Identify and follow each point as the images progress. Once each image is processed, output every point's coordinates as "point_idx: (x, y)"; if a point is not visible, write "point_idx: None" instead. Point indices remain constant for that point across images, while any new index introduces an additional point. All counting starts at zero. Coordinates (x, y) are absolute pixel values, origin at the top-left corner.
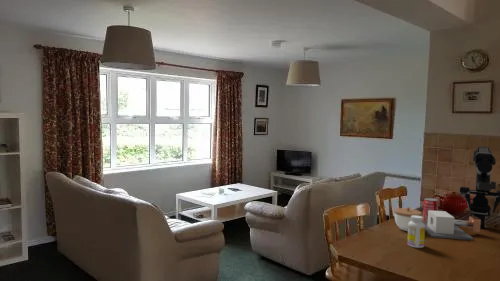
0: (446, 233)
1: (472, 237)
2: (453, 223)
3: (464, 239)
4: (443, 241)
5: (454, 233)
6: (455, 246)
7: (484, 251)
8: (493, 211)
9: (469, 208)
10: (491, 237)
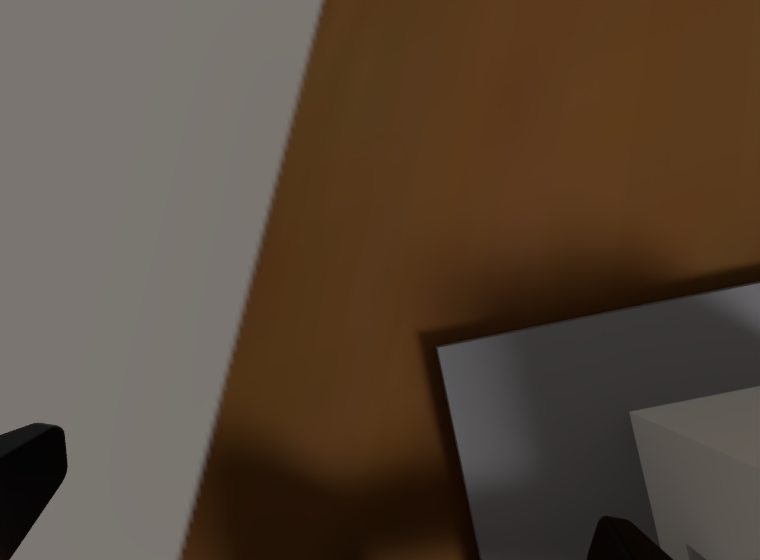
0: (708, 398)
1: (441, 368)
2: (719, 443)
3: (521, 329)
4: (742, 164)
5: (614, 450)
6: (645, 47)
7: (406, 12)
8: (31, 435)
9: (645, 540)
10: (219, 546)
